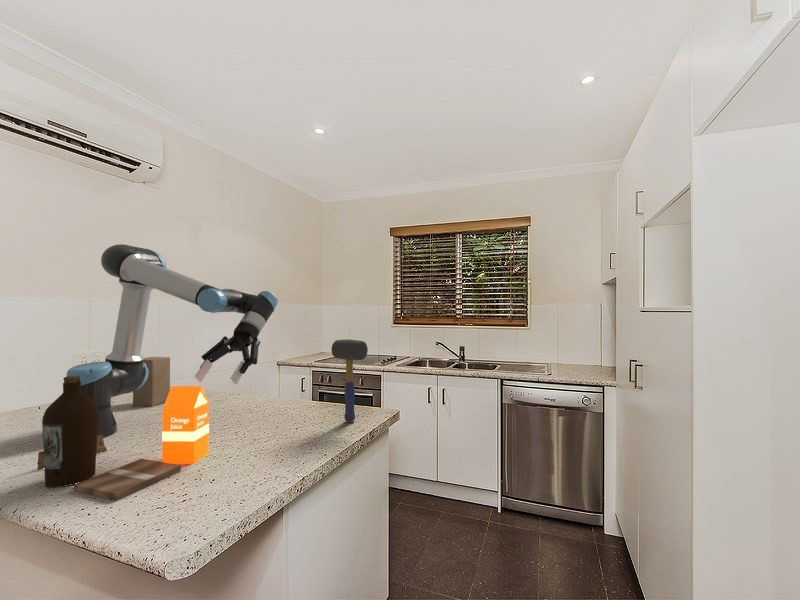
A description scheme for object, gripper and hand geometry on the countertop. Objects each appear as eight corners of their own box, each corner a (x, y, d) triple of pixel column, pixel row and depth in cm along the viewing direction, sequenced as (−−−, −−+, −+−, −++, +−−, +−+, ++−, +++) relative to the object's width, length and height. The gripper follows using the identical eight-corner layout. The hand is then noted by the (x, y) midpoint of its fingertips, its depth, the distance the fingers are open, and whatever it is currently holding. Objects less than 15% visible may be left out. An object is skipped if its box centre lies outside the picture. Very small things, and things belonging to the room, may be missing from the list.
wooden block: (152, 407, 164) (152, 360, 164) (132, 406, 166) (132, 359, 166) (170, 401, 174) (170, 357, 174) (151, 400, 176) (151, 356, 176)
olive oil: (81, 467, 101) (82, 372, 102) (108, 473, 97) (109, 374, 98) (31, 484, 91) (32, 379, 92) (58, 492, 87) (59, 381, 88)
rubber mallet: (329, 421, 140) (329, 339, 141) (342, 416, 147) (342, 338, 147) (357, 427, 134) (356, 340, 135) (369, 421, 140) (369, 339, 141)
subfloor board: (73, 491, 88) (73, 484, 88) (141, 464, 103) (141, 458, 103) (116, 500, 83) (116, 493, 83) (180, 471, 98) (180, 464, 98)
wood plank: (40, 472, 99) (40, 452, 99) (36, 471, 99) (36, 451, 99) (106, 451, 113) (106, 434, 113) (102, 450, 113) (102, 433, 114)
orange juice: (179, 452, 111) (179, 383, 112) (209, 453, 111) (209, 383, 111) (161, 463, 103) (161, 389, 104) (193, 464, 103) (194, 389, 103)
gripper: (285, 335, 130) (255, 389, 115) (226, 334, 138) (190, 385, 123) (275, 320, 125) (242, 374, 110) (214, 320, 133) (176, 371, 118)
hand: (215, 380), depth 117 cm, fingers open, 13 cm apart
